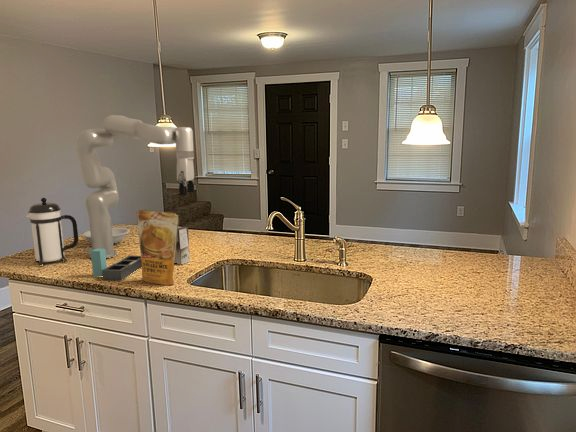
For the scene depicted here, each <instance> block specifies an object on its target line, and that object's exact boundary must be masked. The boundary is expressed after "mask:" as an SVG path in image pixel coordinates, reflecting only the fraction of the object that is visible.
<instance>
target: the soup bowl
mask: <svg viewBox="0 0 576 432" xmlns="http://www.w3.org/2000/svg"><path fill="white" fill-rule="evenodd" d="M130 232H131V230H130V229H129V228H127V227H112V236H113V245H114V243H115V244H118V243H119V242H120V243H121V242H122V241H123V240H124V239H125V238H126V237H127V235H128V233H130ZM81 237H83V238H85V239H86V241H88V242H89V243H91V233H90V230H87V231H84V232H83V233H81ZM91 244H92V243H91Z"/></svg>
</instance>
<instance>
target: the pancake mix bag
mask: <svg viewBox="0 0 576 432" xmlns="http://www.w3.org/2000/svg"><path fill="white" fill-rule="evenodd" d="M179 216H180V215H178V214H177V213H176V212H169V211H159V210H146V209H145V210H143V209H142V210H138V211H136V217H137V220H136V221H137V228H138V245H139V252H140V256H141V261H142V268H141V280H143V282H144V281H145V283H148V282H150V283H149V284H154V283H156V284H155V285H159V284H161V285H160V286H171V285H175V281H174V278H173V277H174V272H175V271H174V270H175V264H174V261H175V251H176V243H177V232H178V226H179V224H180V217H179Z"/></svg>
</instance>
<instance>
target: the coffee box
mask: <svg viewBox="0 0 576 432" xmlns="http://www.w3.org/2000/svg"><path fill="white" fill-rule="evenodd" d="M189 236H190V235H189V227H187V226H179V225H178V232H177V243H176V251H175V261H174V263H177V264H176V265H179V264H183V265H185V264H184V263H186V264H188V263H190V262H191V256H190V255H191V252H190V238H189ZM189 261H190V262H189ZM187 262H188V263H187Z"/></svg>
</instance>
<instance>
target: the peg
mask: <svg viewBox="0 0 576 432" xmlns="http://www.w3.org/2000/svg"><path fill="white" fill-rule="evenodd" d="M90 260H91V265H92V267H91V268H92V277H93V276H102V270H103V269H105V268H107V267H108V266H107V265H108V264H107V259H106V252H105V249H94V250H92V251H91V259H90Z"/></svg>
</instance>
